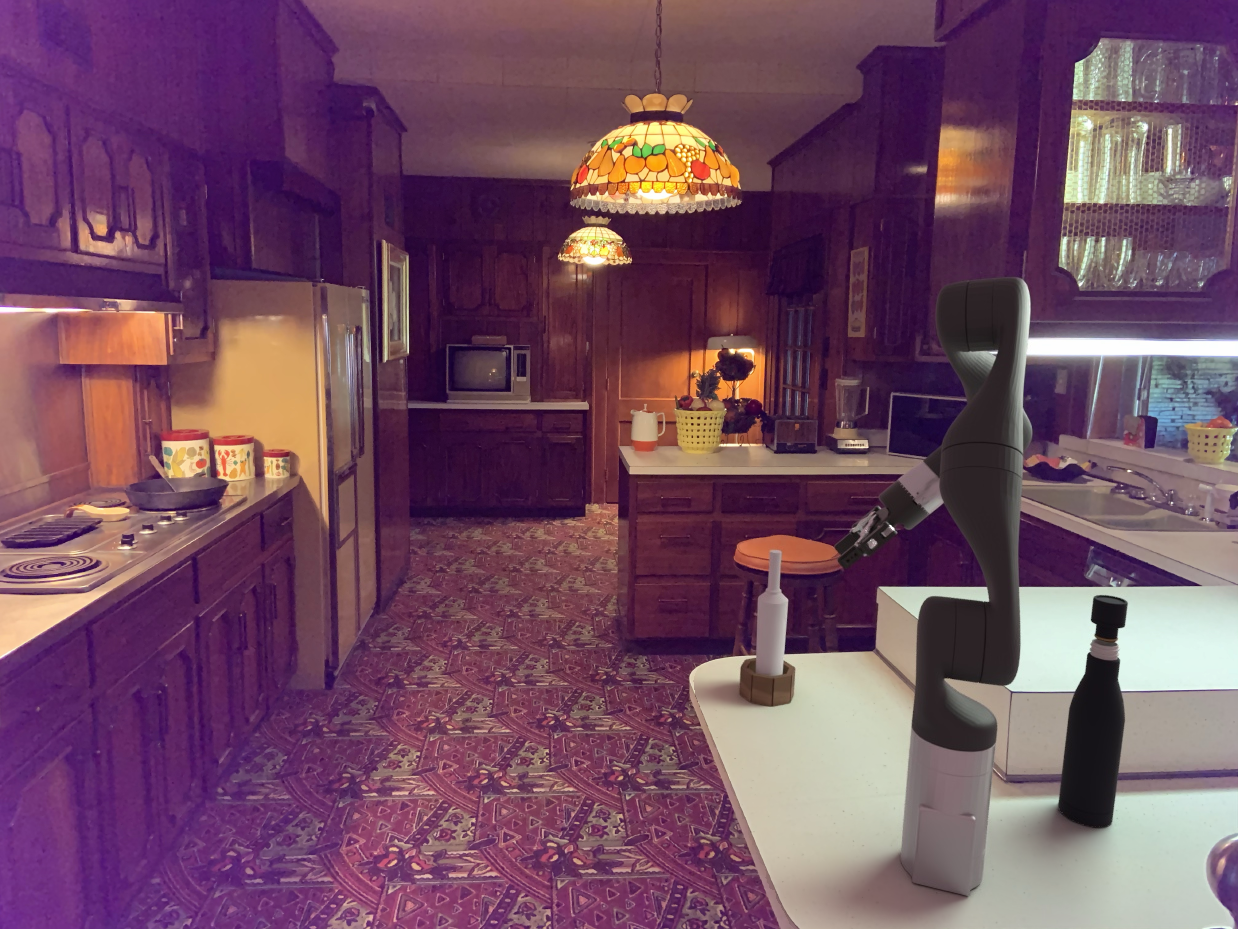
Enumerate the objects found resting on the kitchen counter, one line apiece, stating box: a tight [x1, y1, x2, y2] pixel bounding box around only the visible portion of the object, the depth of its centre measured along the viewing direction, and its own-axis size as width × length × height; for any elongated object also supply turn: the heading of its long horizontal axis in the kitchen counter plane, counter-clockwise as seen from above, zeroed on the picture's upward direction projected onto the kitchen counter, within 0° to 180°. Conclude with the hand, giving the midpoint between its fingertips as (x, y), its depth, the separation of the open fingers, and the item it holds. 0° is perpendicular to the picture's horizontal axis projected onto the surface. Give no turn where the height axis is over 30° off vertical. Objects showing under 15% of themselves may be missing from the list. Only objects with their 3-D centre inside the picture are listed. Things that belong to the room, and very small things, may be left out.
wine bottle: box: [1057, 594, 1129, 828], centre depth 110 cm, size 6×6×30 cm
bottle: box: [755, 549, 789, 676], centre depth 145 cm, size 5×5×25 cm
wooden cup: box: [738, 657, 796, 707], centre depth 147 cm, size 9×9×5 cm
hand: (839, 557), depth 141 cm, fingers open, 8 cm apart
